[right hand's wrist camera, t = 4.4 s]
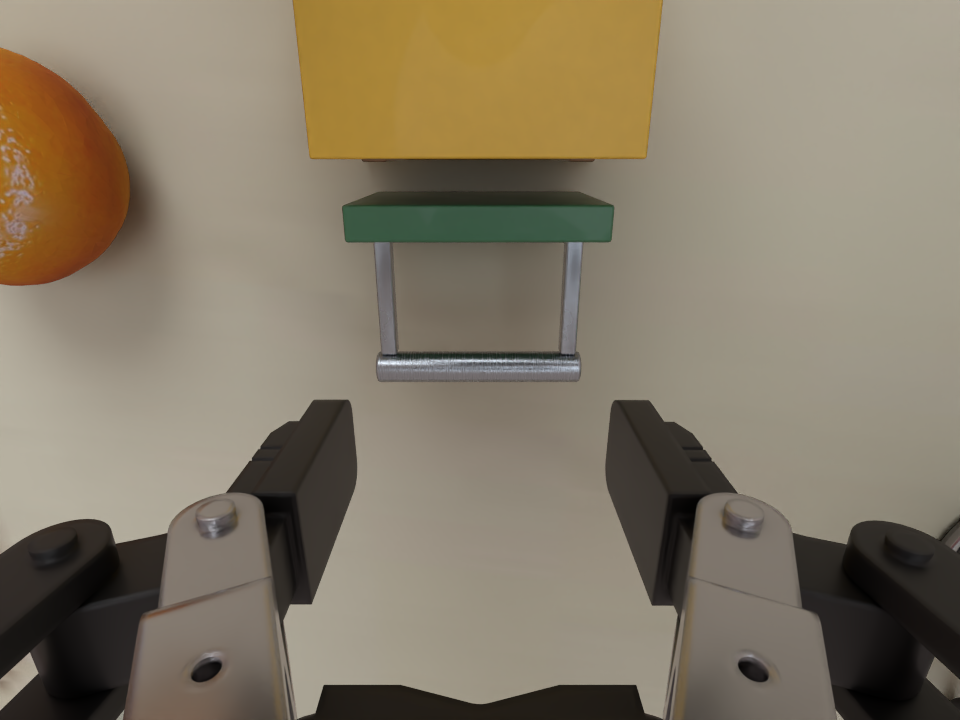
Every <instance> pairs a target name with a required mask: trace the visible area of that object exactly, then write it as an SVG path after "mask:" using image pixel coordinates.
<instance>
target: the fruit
mask: <svg viewBox="0 0 960 720" xmlns="http://www.w3.org/2000/svg"><path fill="white" fill-rule="evenodd" d="M129 200H130V181H129V173H128V168H127V164H126V160H125V158H124V155H123V152H122V150H121V148H120V146H119V144H118V142H117V140H116V139H115V137H114V136H113V134H112V133H111V131H110V130H109V129H108V128H107V126H106V125H105V124H104V122H103V121H102V119H101V118H100V117H99V116H98V114H97V113H96V112H95V111H94V110H93V109H92V107H91V106H90V105H89V104H88V102H87V101H86V100H85V99H84V97H83V96H82V95H81V94H80V93H79V92H78V91H77V90H75V89H74V88H73V87H72V86H71V85H70V84H69V83H68V82H66V81H65V80H64V79H62V78H61V77H60V76H58V75H57V74H55V73H54V72H52V71H50V70H49V69H47V68H45V67H44V66H42V65H40V64H39V63H37V62H35V61H32V60H30V59H29V58H27V57H25V56H23V55H20V54H17V53H14V52H11V51H9V50H6V49H3V48H0V284H4V285H13V286H23V285H38V284H45V283H50V282H53V281H56V280H59V279H62V278H64V277H67V276H69V275H71V274H73V273H75V272H76V271H78V270H80V269H81V268H83V267H85V266H86V265H88V264H89V263H91V262H92V261H94V260H95V259H97V258H98V257H99V256H100V255H101V254H102V253H103V252H104V251H105V250H106V249H107V248H108V247H109V246H110V245H111V243H112V241H113V240H114V238H115V237H116V235H117V233H118V231H119V230H120V229H121V227H122V225H123V222H124V220H125V218H126V215H127V211H128V205H129Z"/></svg>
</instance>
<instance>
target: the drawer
mask: <svg viewBox="0 0 960 720" xmlns="http://www.w3.org/2000/svg"><path fill="white" fill-rule="evenodd" d="M397 160H561V161H571V162H592V161H594V159H362V161H364V162H386V161H397ZM342 211H343V222H344V233H345V240H346V242H374V255H375V269H376V283H377V297H378V311H379V325H380V339H381V352H379V353H378V355H377V360H376V374H377V378H378V381H380V382H577V381H579V379H580V376H581V358H580V354H579V352H576V341H577V327H578V312H579V297H580V283H581V268H582V254H583V242H611V240H612V228H613V217H614V206H613V205H611V204H608V203H606V202H603V201H601V200H598V199H596V198H593V197H591V196H588V195H586V194H583V193H580V192H377V193H375V194H372V195H369V196H367V197H364V198H362V199H359V200H356V201H354V202H351V203H349V204H346V205H344V206H343V207H342ZM392 242H565V243H564V261H563V279H562V297H561V314H560V332H559V351H482V352H398V349H399V345H398V328H397V311H396V294H395V277H394V260H393V243H392Z"/></svg>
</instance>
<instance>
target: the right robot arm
mask: <svg viewBox="0 0 960 720" xmlns="http://www.w3.org/2000/svg"><path fill="white" fill-rule="evenodd" d="M605 469H606V482H607V487H608V491H609V494H610V496H611V499H612V501H613V504H614V507H615V509H616V512H617V515H618V517H619V520H620V522H621V525H622V528H623V530H624V533H625V536H626V538H627V541H628V543H629V546H630V549H631V551H632V554H633V557H634V559H635V562H636V564H637V567H638V570H639V572H640V575H641V578H642V580H643V583H644V585H645V588H646V591H647V593H648V596H649V599H650V601H651V604H652V605H674V607H675V609H676V611H677V614H678V616H677V622H676V627H675V633H674V640H673V648H672V655H671V662H670V669H669V676H668V683H667V690H666V698H665V705H664V712H663V719H661V718H659V717H656V716H652V715H649V714H645V713H644V710H643V707H642V703H641V700H640V696H639V693H638V690H637V686H636V685H558V686H554V687H550V688H546V689H542V690H538V691H534V692H530V693H527V694H523V695H519V696H515V697H511V698H507V699H503V700H500V701H496V702H492V703H488V704H472V703H468V702H464V701H460V700H457V699H453V698H449V697H445V696H441V695H437V694H433V693H430V692H426V691H422V690H418V689H414V688H410V687H406V686H402V685H324V686H323V690H322V693H321V696H320V700H319V703H318V707H317V710H316V713H315V714H311V715H308V716H304V717H301V718H299V719H297V712H296V705H295V698H294V690H293V683H292V676H291V669H290V662H289V655H288V648H287V640H286V633H285V627H284V622H283V620H284V617H285V615H286V613H287V610H288V608H289V605H290V604H312V602H313V599H314V597H315V594H316V591H317V589H318V586H319V583H320V581H321V578H322V575H323V572H324V570H325V567H326V564H327V562H328V559H329V556H330V554H331V551H332V548H333V546H334V543H335V540H336V538H337V535H338V532H339V530H340V527H341V524H342V522H343V519H344V516H345V514H346V511H347V508H348V506H349V503H350V500H351V498H352V495H353V492H354V489H355V485H356V479H357V457H356V446H355V436H354V425H353V415H352V407H351V404H350V401H349V400H313V402H312V403H311V404H310V406H309V407H308V409H307V410H306V412H305V413H304V415H303V416H302V418H301V419H300V421H289V422H287V423H286V424H284V425H283V426H281V427H279V428H278V429H276V430H275V431H273V432H272V433H270V435H269V436H268V437H267V439H266V440H265V441H264V443H263V444H262V445H261V448H260V449H258V451H257V452H256V453H255V455H254V456H253V457H252V461H249V463H248V464H247V465H246V467H245V468H244V469H243V471H242V472H241V473H240V475H239V476H238V477H237V479H236V480H235V481H234V483H233V484H232V485H231V487H230V488H229V489H228V491H227V492H226V493H224V494H219V495H215V496H211V497H208V498H205V499H202V500H200V501H198V502H195V503H193V504H192V505H190V506H188V507H187V508H185V509H184V510H182V511H181V512H180V513H179V514H178V515H177V516H176V517H175V518H174V519H173V520H172V522H171V524H170V525H169V529H168V533H166V534H162V535H158V536H153V537H148V538H143V539H138V540H133V541H128V542H123V543H118V544H115V541H114V538H113V534H112V531H111V528H110V527H109V525H108V524H106V523H105V522H103V521H100V520H95V519H80V520H73V521H68V522H63V523H60V524H56V525H53V526H50V527H47V528H45V529H42V530H40V531H38V532H35V533H33V534H31V535H29V536H28V537H26V538H24V539H22V540H21V541H19V542H18V543H16V544H15V545H13V546H12V547H10V548H9V549H7V550H6V551H5V552H3V553H2V554H0V679H1V678H2V677H3V676H4V675H5V674H6V673H8V672H9V671H10V670H11V669H12V668H13V667H14V666H15V665H16V664H17V663H18V662H19V661H21V660H22V659H23V658H24V657H25V656H26V655H27V654H28V653H29V652H30V653H31V656H32V658H33V661H34V663H35V665H36V668H37V670H38V673H39V674H37V675H36V676H35V677H34V678H33V679H32V680H31V681H30V682H29V683H28V684H27V685H26V686H25V687H24V688H23V689H22V690H21V691H20V692H19V693H18V694H17V695H16V696H15V697H14V698H13V699H12V700H11V701H10V702H9V703H8V704H7V705H6V706H5V707H4V708H3V709H2V710H1V711H0V720H116V719H117V718H118V716H119V715H120V714H121V713H122V711H123V710H124V709H125V710H124V716H123V720H837V716H836V710H837V711H838V713H839V714H840V715H841V716H842V718H843V719H844V720H960V698H955V699H953V700H951V701H949V700H948V699H947V698H946V697H945V696H944V695H943V694H942V693H941V692H940V691H939V690H938V689H937V688H936V687H935V686H934V685H933V684H932V683H931V682H930V681H929V680H928V679H927V678H926V676H927V674H928V671H929V669H930V666H931V664H932V662H933V659H934V657H936V658H937V659H938V660H939V661H941V662H942V663H943V664H944V665H945V666H946V667H947V668H948V669H949V670H950V671H951V672H953V673H954V674H955V675H956V676H957V677H958V678H959V679H960V522H958V523H957V524H956V525H955V526H954V527H953V528H952V529H951V530H950V531H949V532H948V533H947V534H946V536H945V537H944V538H943V539H942V541H939V540H937V539H935V538H934V537H932V536H930V535H928V534H925V533H923V532H921V531H919V530H916V529H913V528H911V527H907V526H904V525H901V524H896V523H892V522H886V521H865V522H861V523H858V524H856V525H855V526H854V527H853V528H852V530H851V533H850V536H849V539H848V542H847V545H846V544H841V543H836V542H831V541H826V540H821V539H816V538H811V537H807V536H802V535H798V534H795V533H792V529H791V525H790V524H789V522H788V520H787V519H786V518H785V517H784V516H783V515H782V514H781V513H780V512H779V511H778V510H776V509H775V508H773V507H772V506H770V505H768V504H767V503H765V502H762V501H760V500H758V499H755V498H752V497H749V496H745V495H741V494H738V493H737V492H736V490H735V489H734V488H733V486H732V485H731V484H730V482H729V481H728V480H727V478H726V477H725V476H724V474H723V473H722V472H721V471H720V469H719V468H718V467H717V465H716V464H715V463H714V462H712V461H711V457H710V456H709V455H708V453H707V452H706V451H705V450H703V447H702V446H701V444H700V443H699V442H698V440H697V439H696V438H695V436H694V435H693V434H692V433H691V432H689V431H688V430H686V429H684V428H683V427H681V426H680V425H678V424H676V423H675V422H664V421H663V420H662V418H661V417H660V415H659V414H658V412H657V411H656V409H655V408H654V406H653V405H652V403H651V402H650V401H649V400H615V401H614V402H613V404H612V407H611V413H610V423H609V433H608V443H607V454H606V467H605ZM835 709H836V710H835Z"/></svg>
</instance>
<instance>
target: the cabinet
mask: <svg viewBox="0 0 960 720" xmlns="http://www.w3.org/2000/svg"><path fill="white" fill-rule="evenodd" d="M662 4H663V0H293V7H294V17H295V26H296V35H297V44H298V54H299V63H300V72H301V81H302V90H303V100H304V109H305V118H306V127H307V137H308V146H309V155H310V158H311V159H645V158H646V156H647V147H648V138H649V128H650V118H651V109H652V99H653V90H654V80H655V71H656V61H657V52H658V42H659V33H660V23H661V14H662Z"/></svg>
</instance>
